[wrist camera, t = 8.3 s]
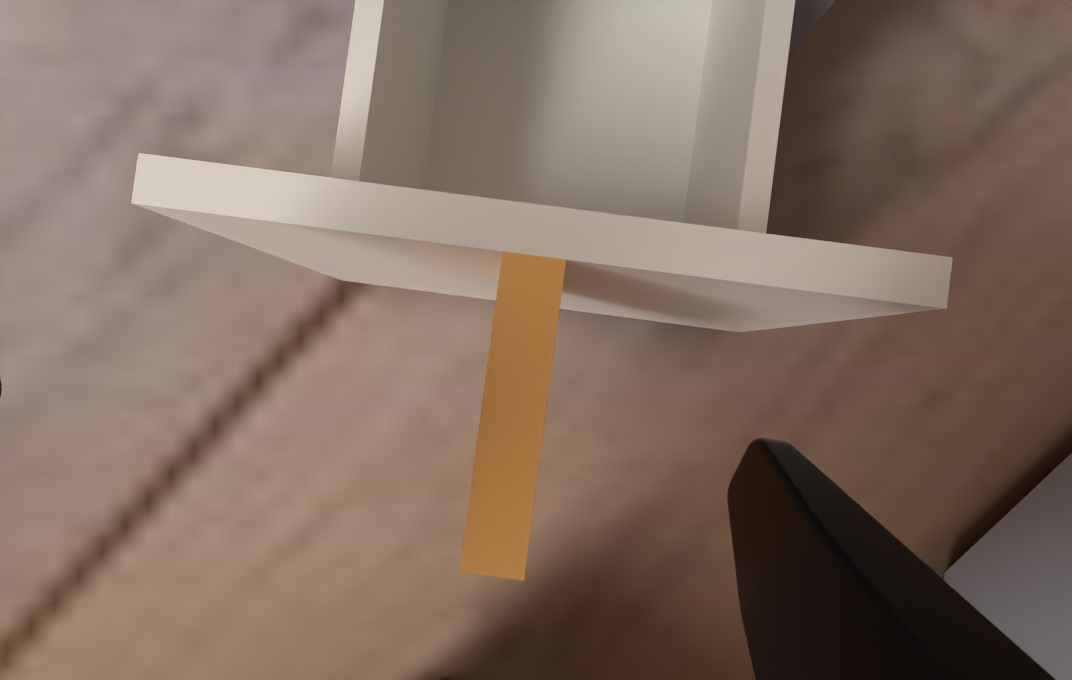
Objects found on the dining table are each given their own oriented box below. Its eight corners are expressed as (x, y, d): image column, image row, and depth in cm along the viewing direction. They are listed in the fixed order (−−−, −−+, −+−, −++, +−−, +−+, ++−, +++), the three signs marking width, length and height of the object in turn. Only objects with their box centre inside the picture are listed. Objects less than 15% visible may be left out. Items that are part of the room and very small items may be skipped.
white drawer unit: (720, 489, 20) (908, 634, 10) (320, 435, 20) (84, 519, 10) (784, -25, 20) (1032, -417, 10) (390, -72, 21) (234, -505, 10)
